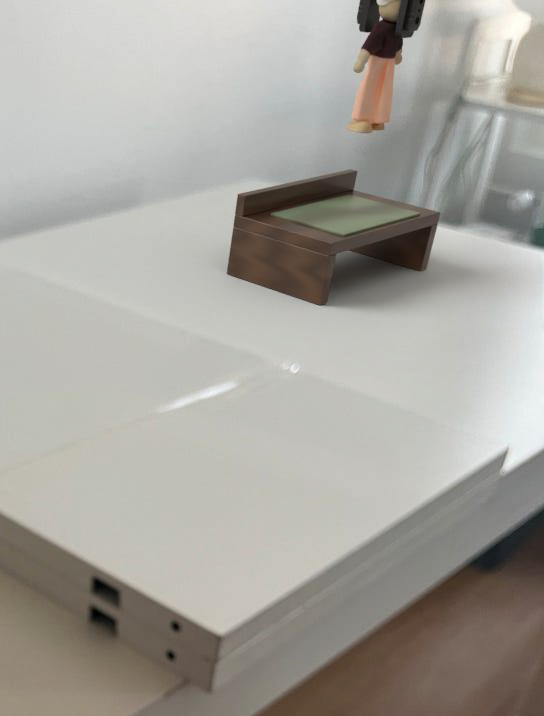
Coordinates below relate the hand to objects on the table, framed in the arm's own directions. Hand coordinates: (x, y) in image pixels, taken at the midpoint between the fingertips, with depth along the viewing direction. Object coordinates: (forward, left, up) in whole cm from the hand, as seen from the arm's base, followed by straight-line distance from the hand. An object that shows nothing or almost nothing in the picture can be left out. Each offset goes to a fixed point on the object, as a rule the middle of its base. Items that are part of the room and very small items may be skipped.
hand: (385, 33), depth 97 cm
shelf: (+1, 0, -22) cm, 22 cm away
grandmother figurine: (0, 0, -8) cm, 8 cm away
